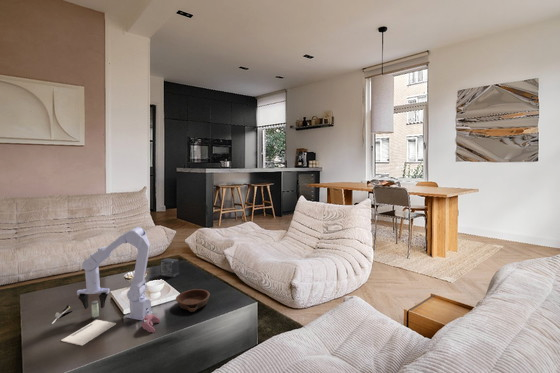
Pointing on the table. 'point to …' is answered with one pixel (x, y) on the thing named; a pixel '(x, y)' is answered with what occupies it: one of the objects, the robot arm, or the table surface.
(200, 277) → the table surface
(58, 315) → the scissors
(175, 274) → the small box
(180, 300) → the dish
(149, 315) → the video game controller
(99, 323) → the notepad
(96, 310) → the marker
